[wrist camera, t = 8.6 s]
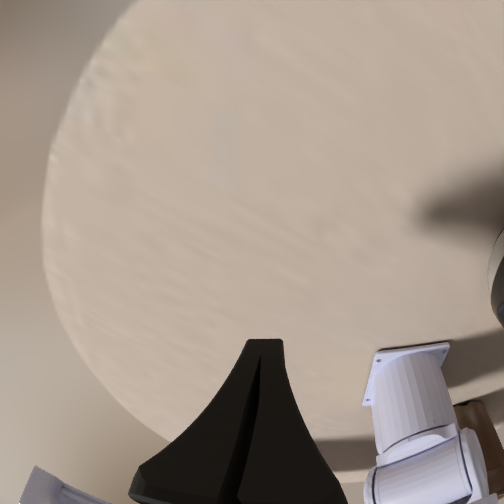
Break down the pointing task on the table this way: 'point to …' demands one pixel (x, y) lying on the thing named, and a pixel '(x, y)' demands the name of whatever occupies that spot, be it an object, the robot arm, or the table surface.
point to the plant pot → (485, 442)
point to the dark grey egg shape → (497, 278)
